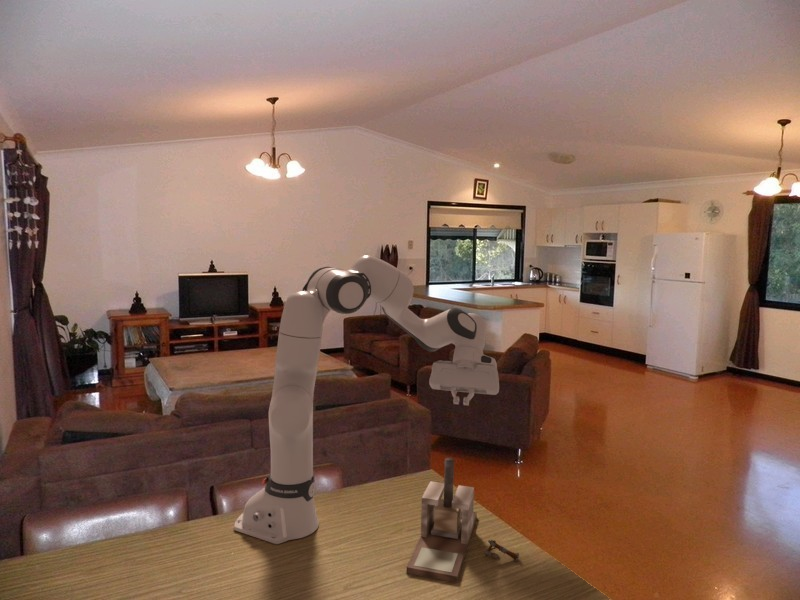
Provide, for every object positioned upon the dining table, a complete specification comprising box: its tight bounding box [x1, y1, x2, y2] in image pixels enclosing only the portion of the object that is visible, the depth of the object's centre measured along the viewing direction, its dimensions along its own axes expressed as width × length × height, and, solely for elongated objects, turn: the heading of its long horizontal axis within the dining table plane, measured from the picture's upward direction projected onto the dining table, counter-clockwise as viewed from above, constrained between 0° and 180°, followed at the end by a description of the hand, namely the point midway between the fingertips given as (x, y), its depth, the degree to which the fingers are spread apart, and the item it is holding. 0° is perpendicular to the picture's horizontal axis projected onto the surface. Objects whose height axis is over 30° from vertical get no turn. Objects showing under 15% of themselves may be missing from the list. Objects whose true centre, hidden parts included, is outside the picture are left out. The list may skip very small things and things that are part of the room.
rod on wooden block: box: [431, 457, 462, 539], centre depth 146 cm, size 7×8×19 cm
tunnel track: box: [405, 480, 478, 584], centre depth 143 cm, size 12×31×12 cm, turn 164°
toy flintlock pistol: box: [484, 539, 520, 563], centre depth 137 cm, size 2×8×4 cm, turn 80°
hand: (460, 403), depth 158 cm, fingers closed
